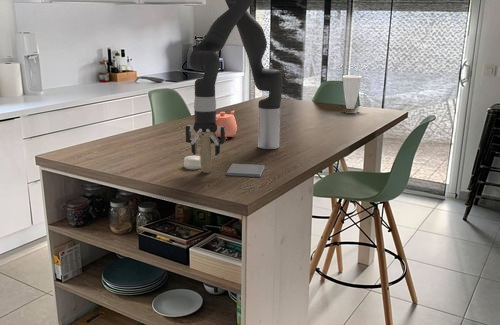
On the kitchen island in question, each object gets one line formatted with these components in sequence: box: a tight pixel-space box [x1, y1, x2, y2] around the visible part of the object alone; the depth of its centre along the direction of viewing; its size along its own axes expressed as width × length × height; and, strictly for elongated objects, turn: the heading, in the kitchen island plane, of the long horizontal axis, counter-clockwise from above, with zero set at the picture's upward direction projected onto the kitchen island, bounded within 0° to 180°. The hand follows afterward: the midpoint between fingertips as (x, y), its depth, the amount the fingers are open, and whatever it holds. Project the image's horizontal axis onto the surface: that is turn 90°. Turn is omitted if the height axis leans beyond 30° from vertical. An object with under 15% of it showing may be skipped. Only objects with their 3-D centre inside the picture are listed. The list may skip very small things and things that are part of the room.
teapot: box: [215, 110, 238, 141], centre depth 239 cm, size 20×12×12 cm, turn 152°
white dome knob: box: [183, 155, 202, 170], centre depth 191 cm, size 7×7×4 cm
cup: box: [342, 74, 363, 110], centre depth 309 cm, size 12×12×22 cm
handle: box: [197, 131, 215, 174], centre depth 182 cm, size 5×6×15 cm
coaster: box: [225, 163, 265, 178], centre depth 185 cm, size 12×12×1 cm
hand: (205, 154), depth 183 cm, fingers open, 7 cm apart
